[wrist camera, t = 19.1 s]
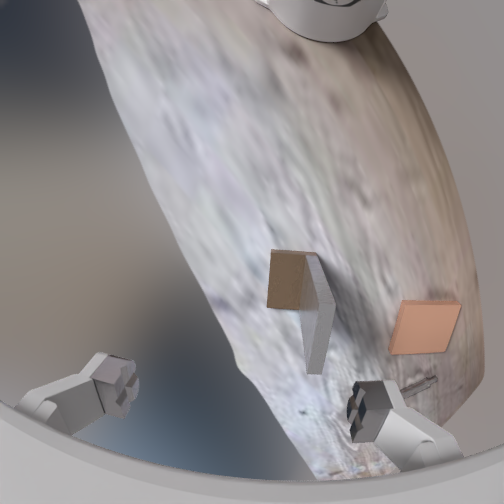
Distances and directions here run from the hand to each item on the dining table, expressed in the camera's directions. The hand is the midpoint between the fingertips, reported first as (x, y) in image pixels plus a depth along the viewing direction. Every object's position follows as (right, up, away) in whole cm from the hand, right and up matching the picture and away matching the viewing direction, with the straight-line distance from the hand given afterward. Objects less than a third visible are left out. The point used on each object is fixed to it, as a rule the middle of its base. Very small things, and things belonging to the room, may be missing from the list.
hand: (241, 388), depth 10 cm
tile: (+23, -7, +32) cm, 40 cm away
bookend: (+6, +1, +32) cm, 32 cm away
